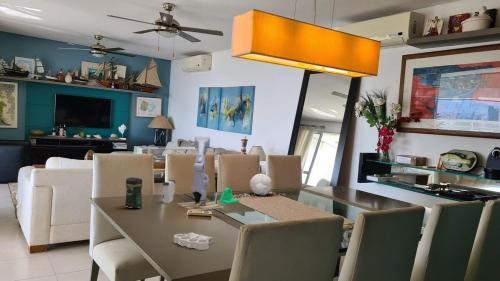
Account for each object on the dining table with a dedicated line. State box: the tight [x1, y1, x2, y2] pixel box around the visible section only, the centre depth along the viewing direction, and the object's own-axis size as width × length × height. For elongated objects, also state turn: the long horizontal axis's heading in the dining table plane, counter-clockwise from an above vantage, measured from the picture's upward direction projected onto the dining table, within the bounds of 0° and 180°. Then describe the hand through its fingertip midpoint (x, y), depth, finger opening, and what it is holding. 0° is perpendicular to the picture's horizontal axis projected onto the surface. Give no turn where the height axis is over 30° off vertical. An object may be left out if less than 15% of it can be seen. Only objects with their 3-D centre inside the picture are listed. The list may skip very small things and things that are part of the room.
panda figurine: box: [162, 179, 176, 204], centre depth 248 cm, size 12×11×15 cm
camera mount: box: [218, 187, 240, 204], centre depth 257 cm, size 12×8×10 cm, turn 139°
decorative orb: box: [249, 173, 272, 196], centre depth 292 cm, size 20×18×16 cm
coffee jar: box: [124, 177, 143, 208], centre depth 234 cm, size 10×8×19 cm
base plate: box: [176, 197, 223, 212], centre depth 242 cm, size 21×22×4 cm
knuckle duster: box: [173, 232, 214, 251], centre depth 173 cm, size 3×18×15 cm
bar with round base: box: [194, 200, 206, 208], centre depth 239 cm, size 5×12×2 cm, turn 161°
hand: (197, 203), depth 239 cm, fingers closed, pressing on bar with round base
